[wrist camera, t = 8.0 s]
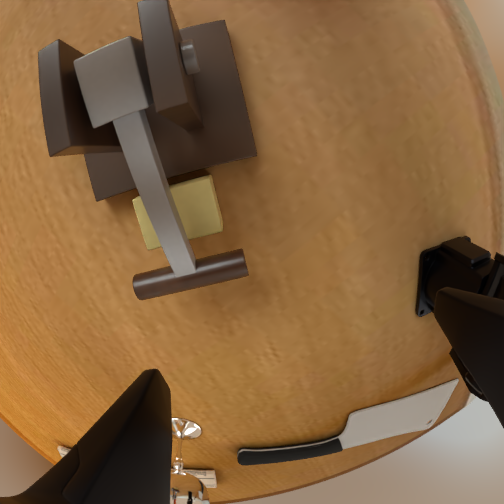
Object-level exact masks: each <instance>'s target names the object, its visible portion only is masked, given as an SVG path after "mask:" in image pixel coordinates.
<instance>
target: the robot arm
mask: <svg viewBox="0 0 504 504" xmlns="http://www.w3.org/2000/svg"><path fill="white" fill-rule="evenodd" d="M425 256H426V257H425ZM494 259H495V260H493V259H491V254H490V252H489V251H487V250H485V249H483V248H481V247H479V246H477V245H475V244H473V243H471V239H470V238H469V237H467V236H464V237H458V238H455V239H452V240H449V241H446V242H443V243H442V244H440V245H438V246H435V247H432V248H429V249H426V250H424V251H422V253H421V255H420V268H419V283H418V295H417V304H416V314H417V315H418V316H419V317H422V316H424V315H426V314H428V313H430V312H433V313H434V316H435V318H436V320H437V322H438V323H439V325H440V327H441V328H442V330H443V332H444V333H445V335H446V337H447V338H448V340H449V342H450V344H451V345H452V349H451V351H450V352H449V354H450V356H451V357H452V359H453V361H454V363H455V365H456V367H457V368H458V370H459V372H460V374H461V376H462V378H463V380H464V381H465V383H466V385H467V387H468V389H469V391H470V392H471V393H472V394H474V395H475V396H477V397H478V398H480V399H482V400H484V401H487V402H489V404H490V405H491V407H492V409H493V410H494V412H495V414H496V416H497V417H498V419H499V421H500V423H501V425H502V426H503V428H504V256H503V255H501V254H499V253H497V252H496V255H495V257H494ZM171 455H172V416H171V393H170V388H169V386H168V384H167V383H166V381H165V379H164V378H163V376H162V374H161V373H160V371H159V370H158V369H149V370H145V371H143V372H142V373H141V375H140V376H139V377H138V378H137V379H136V380H135V381H134V382H133V383H132V384H131V385H130V386H129V387H128V389H127V390H126V391H125V392H124V393H123V394H122V395H121V396H120V397H119V398H118V399H117V400H116V401H115V403H114V404H113V405H112V406H111V407H110V408H109V409H108V410H107V411H106V412H105V413H104V414H103V415H102V416H101V418H100V419H99V420H98V421H97V422H96V423H95V424H94V425H93V426H92V427H91V428H90V429H89V430H88V431H87V433H86V434H85V435H84V436H83V437H82V438H81V439H80V440H79V441H78V442H77V444H75V445H74V446H73V447H72V449H71V450H70V451H69V452H68V453H67V454H66V455H65V456H64V457H63V458H62V459H61V460H60V461H59V462H58V463H57V464H56V465H55V466H53V467H52V468H51V469H50V470H49V471H48V472H47V473H46V474H44V475H43V476H42V477H41V478H40V479H39V480H38V481H36V482H35V483H34V484H33V485H32V486H30V487H29V488H28V489H27V490H26V491H24V492H23V493H21V494H19V495H16V496H11V497H0V504H170V485H171Z"/></svg>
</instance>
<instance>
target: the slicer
mask: <svg viewBox="0 0 504 504" xmlns="http://www.w3.org/2000/svg"><path fill="white" fill-rule="evenodd" d="M137 5H138V13H139V20H140V27H141V34H142V40H143V46H144V52H145V58H146V64H147V69H148V75H149V80H150V85H151V90H152V95H153V100H154V103H153V104H152V105H150V106H149V107H148V108H146V109H144V110H145V113H146V116H147V120H148V123H149V126H150V130H151V133H152V136H153V139H154V142H155V146H156V149H157V152H158V155H159V158H160V161H161V164H162V167H163V170H164V173H165V176H166V179H167V178H170V177H174V176H177V175H181V174H184V173H188V172H192V171H195V170H199V169H203V168H207V167H211V166H215V165H219V164H223V163H227V162H231V161H236V160H240V159H245V158H249V157H254V156H257V152H256V148H255V143H254V139H253V134H252V130H251V125H250V121H249V117H248V112H247V108H246V104H245V100H244V95H243V91H242V87H241V83H240V79H239V74H238V70H237V66H236V62H235V58H234V54H233V50H232V46H231V42H230V38H229V35H228V31H227V27H226V23H225V20H220V21H215V22H210V23H205V24H200V25H196V26H191V27H187V28H183V29H179V28H178V25H177V23H176V20H175V17H174V14H173V11H172V8H171V5H170V2H169V0H143V1H140V2H138V3H137ZM82 56H84V54H83V53H81V52H79V51H78V50H76V49H75V48H73V47H71V46H70V45H68V44H66V43H65V42H63V41H61V40H60V39H58V40H56V41H54V42H53V43H51V44H50V45H48V46H46V47H45V48H43V49H42V50H40V51H39V52H38V66H39V85H40V97H41V106H42V115H43V122H44V129H45V135H46V140H47V146H48V151H49V156H50V157H55V156H65V155H77V154H84V156H85V161H86V165H87V169H88V173H89V177H90V181H91V184H92V188H93V192H94V195H95V199H96V201H100V200H103V199H106V198H108V197H111V196H114V195H117V194H120V193H123V192H126V191H129V190H132V189H135V188H137V187H136V185H135V182H134V180H133V177H132V174H131V172H130V169H129V166H128V164H127V161H126V158H125V156H124V153H123V150H122V147H121V144H120V142H119V139H118V136H117V133H116V130H115V127H114V124H113V121H111V122H109V123H106V124H104V125H101V126H99V127H97V128H93V126H92V123H91V120H90V117H89V114H88V111H87V108H86V105H85V102H84V98H83V95H82V92H81V88H80V85H79V81H78V78H77V74H76V70H75V66H74V61H75V60H77V59H78V58H80V57H82Z"/></svg>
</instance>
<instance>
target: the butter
mask: <svg viewBox="0 0 504 504" xmlns="http://www.w3.org/2000/svg"><path fill="white" fill-rule="evenodd" d="M169 188H170V191H171V193H172V196H173V199H174V202H175V205H176V208H177V210H178V213H179V216H180V219H181V221H182V224H183V227H184V229H185V232H186V235H187V237H188V240H191V239H195V238H199V237H203V236H207V235H211V234H215V233H219V232H222V231H223V220H222V216H221V212H220V208H219V204H218V200H217V196H216V192H215V188H214V184H213V180H212V176H211V175H206V176H202V177H199V178H195V179H191V180H187V181H184V182H180V183H177V184H173V185H170V186H169ZM132 202H133V206H134V209H135V212H136V215H137V219H138V222H139V225H140V228H141V231H142V234H143V237H144V240H145V243H146V246H147V249H148V250H152V249H156V248H160V247H162V246H161V244H160V242H159V239H158V237H157V235H156V233H155V230H154V228H153V226H152V224H151V221H150V219H149V217H148V214H147V212H146V209H145V207H144V205H143V202H142V200H141V197H140V196H138V197H136V198H135V199H133V200H132Z"/></svg>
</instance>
